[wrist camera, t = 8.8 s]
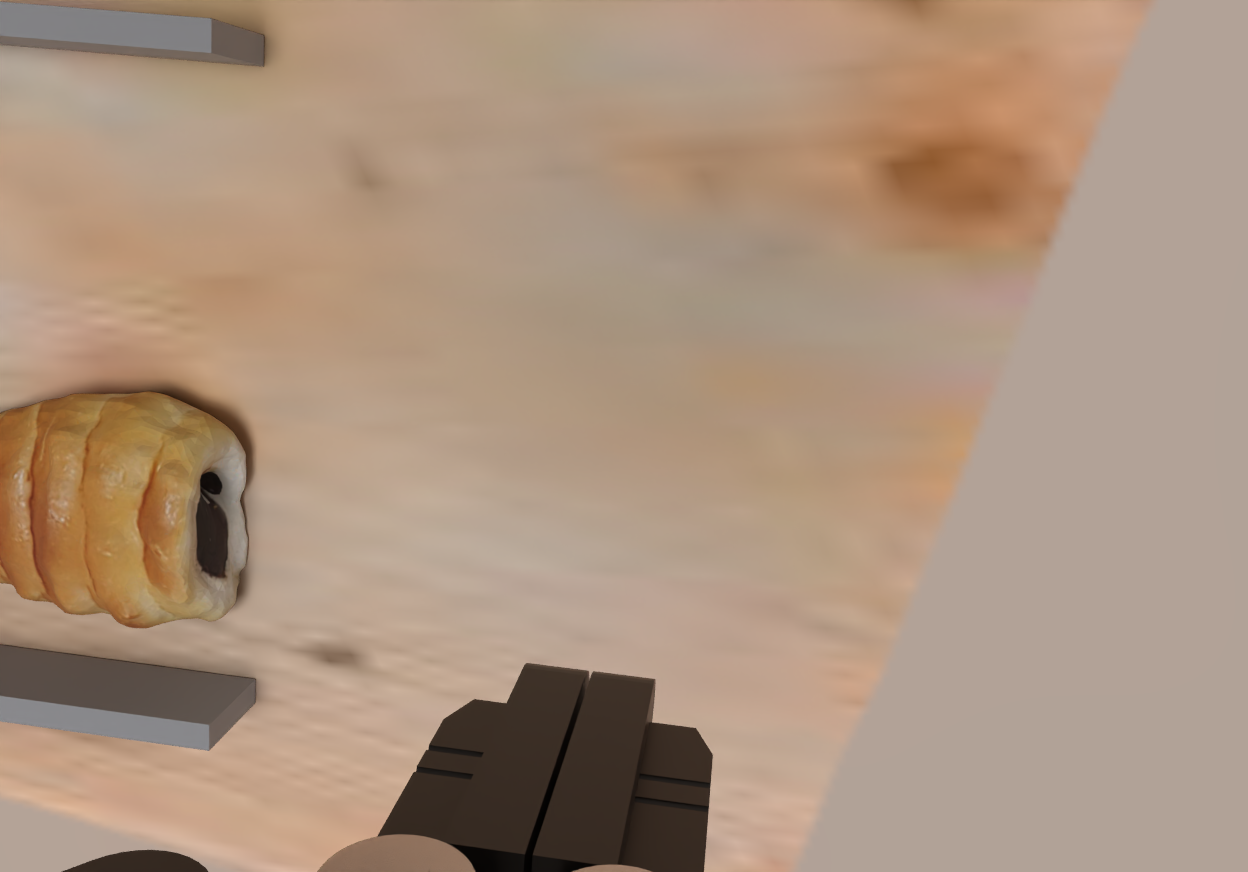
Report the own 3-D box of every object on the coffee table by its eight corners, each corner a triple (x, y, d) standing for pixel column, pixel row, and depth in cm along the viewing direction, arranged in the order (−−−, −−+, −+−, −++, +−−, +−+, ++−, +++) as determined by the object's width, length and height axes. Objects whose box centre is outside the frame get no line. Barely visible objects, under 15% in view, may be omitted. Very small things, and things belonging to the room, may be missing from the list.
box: (-123, 4, 31) (-214, -16, 28) (264, 35, 30) (211, 18, 27) (-84, 656, 35) (-159, 698, 32) (255, 703, 34) (209, 750, 31)
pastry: (-28, 580, 35) (-122, 626, 31) (-44, 368, 33) (-144, 389, 29) (260, 609, 34) (199, 660, 30) (257, 392, 32) (193, 417, 29)
